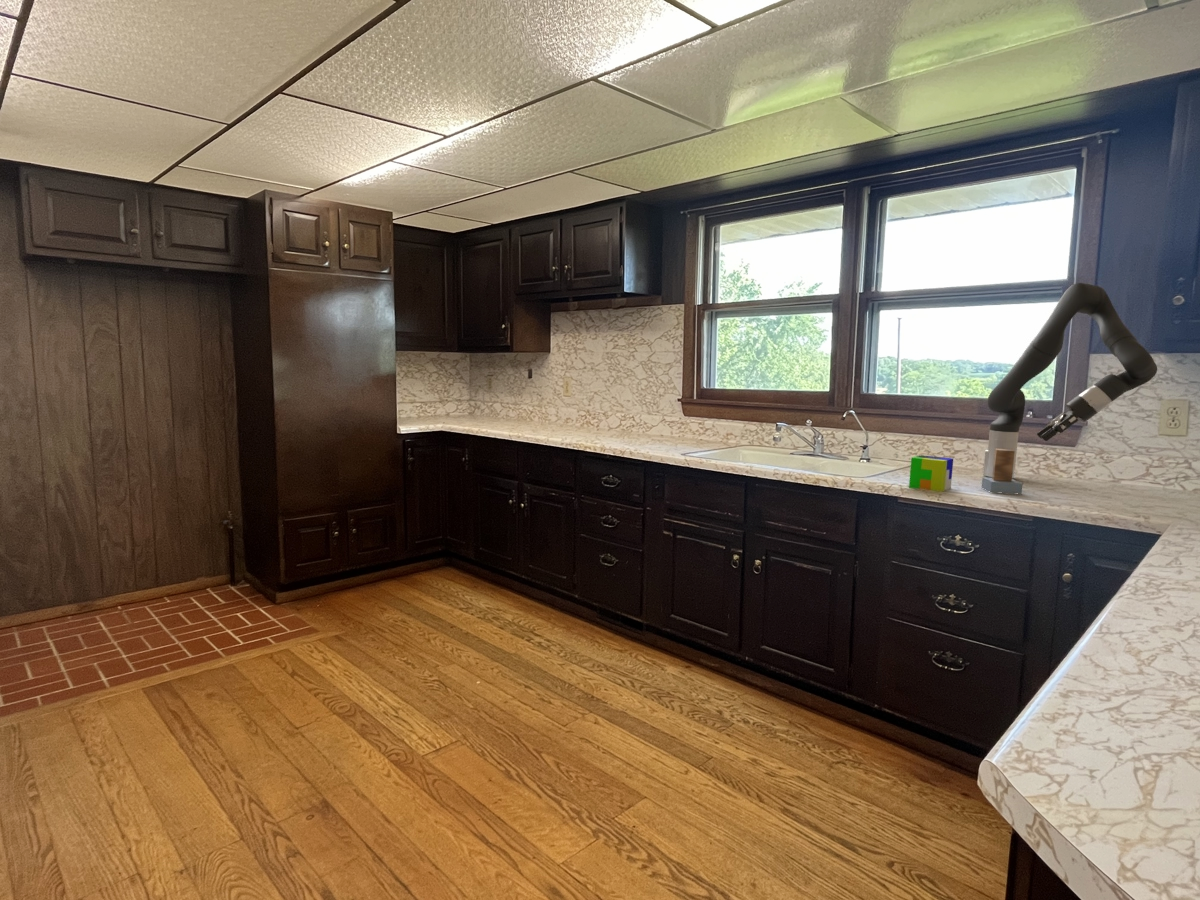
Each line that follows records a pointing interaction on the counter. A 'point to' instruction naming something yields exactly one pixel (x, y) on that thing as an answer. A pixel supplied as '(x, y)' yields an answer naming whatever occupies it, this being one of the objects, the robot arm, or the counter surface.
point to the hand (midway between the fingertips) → (1040, 437)
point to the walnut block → (1003, 465)
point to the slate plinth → (1002, 486)
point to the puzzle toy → (931, 473)
